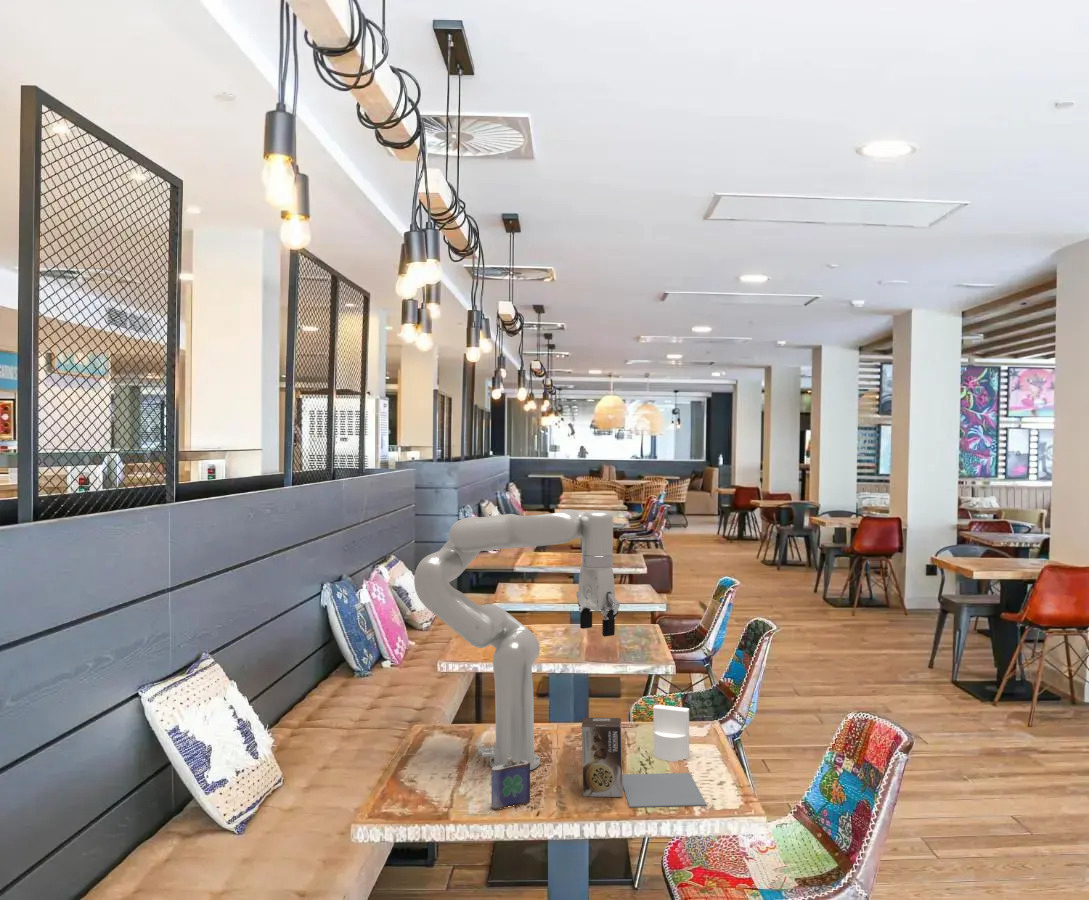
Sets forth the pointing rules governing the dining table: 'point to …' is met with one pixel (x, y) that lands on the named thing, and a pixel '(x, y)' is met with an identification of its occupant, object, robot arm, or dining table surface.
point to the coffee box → (602, 757)
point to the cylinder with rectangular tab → (671, 732)
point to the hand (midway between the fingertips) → (597, 631)
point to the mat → (661, 790)
